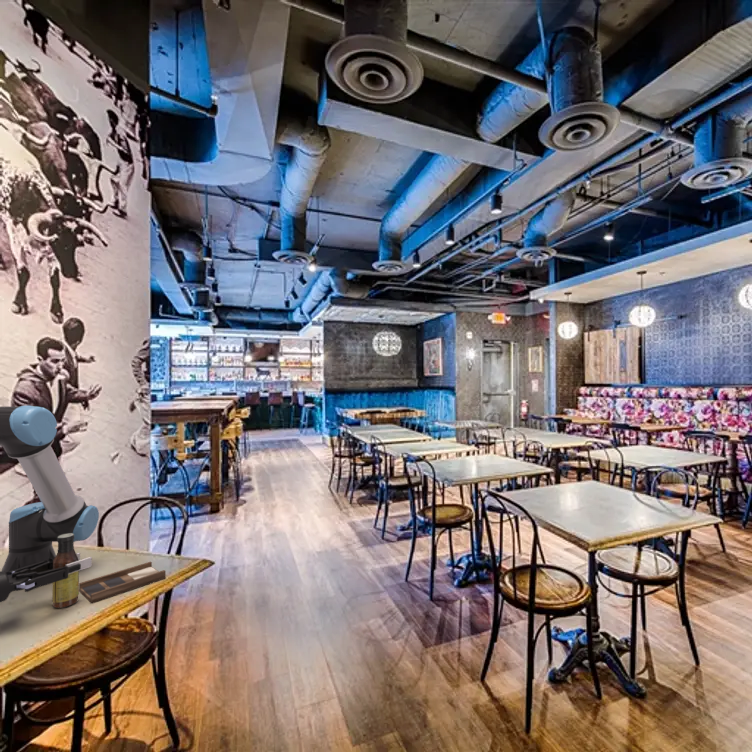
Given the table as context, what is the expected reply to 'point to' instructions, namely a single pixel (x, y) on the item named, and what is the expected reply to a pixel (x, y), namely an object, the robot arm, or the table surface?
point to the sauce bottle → (68, 588)
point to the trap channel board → (120, 582)
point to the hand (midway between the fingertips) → (85, 559)
